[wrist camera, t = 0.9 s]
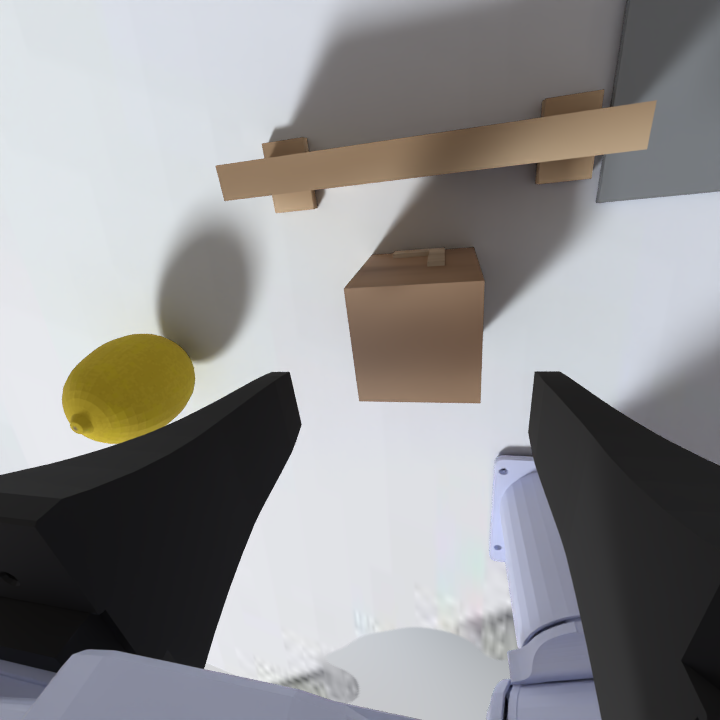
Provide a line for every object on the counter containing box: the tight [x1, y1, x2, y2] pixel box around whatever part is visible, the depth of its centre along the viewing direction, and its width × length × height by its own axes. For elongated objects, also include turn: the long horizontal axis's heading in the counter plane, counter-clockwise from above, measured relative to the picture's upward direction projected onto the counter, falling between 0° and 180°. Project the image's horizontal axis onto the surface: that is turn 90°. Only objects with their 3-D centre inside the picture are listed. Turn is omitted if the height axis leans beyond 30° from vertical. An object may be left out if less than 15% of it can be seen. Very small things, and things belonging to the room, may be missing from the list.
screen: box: [216, 89, 657, 213], centre depth 14 cm, size 3×14×5 cm, turn 98°
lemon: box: [62, 334, 195, 444], centre depth 21 cm, size 6×6×8 cm
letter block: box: [344, 247, 485, 403], centre depth 17 cm, size 5×5×6 cm
